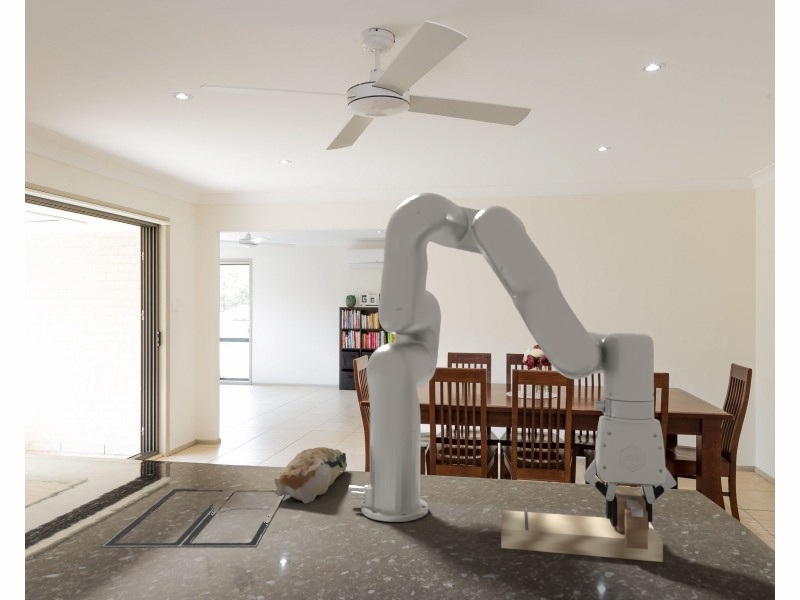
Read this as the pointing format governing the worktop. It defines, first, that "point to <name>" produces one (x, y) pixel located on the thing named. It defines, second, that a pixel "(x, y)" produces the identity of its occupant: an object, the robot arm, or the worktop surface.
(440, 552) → the worktop surface
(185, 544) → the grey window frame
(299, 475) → the mineral
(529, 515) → the birch board
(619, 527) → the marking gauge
